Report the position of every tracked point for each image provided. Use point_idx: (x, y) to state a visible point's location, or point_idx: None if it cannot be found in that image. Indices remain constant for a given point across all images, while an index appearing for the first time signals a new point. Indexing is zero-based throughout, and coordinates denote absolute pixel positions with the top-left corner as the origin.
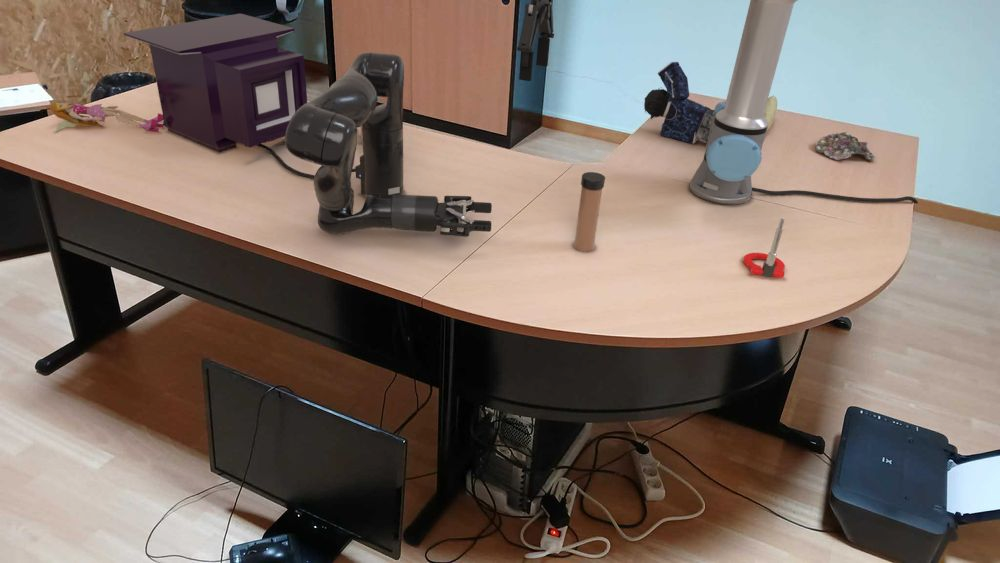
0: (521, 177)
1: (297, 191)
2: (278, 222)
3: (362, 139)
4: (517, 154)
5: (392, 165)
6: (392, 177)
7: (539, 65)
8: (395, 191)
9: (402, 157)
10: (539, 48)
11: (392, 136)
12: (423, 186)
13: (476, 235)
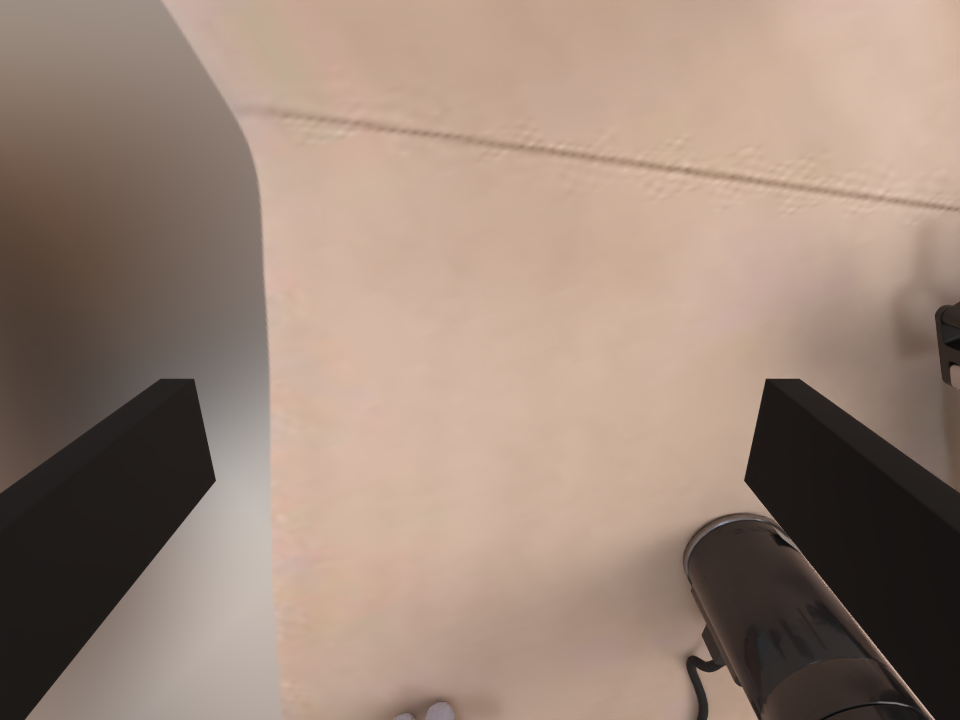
0: (459, 260)
1: None
2: None
3: (454, 717)
4: (272, 335)
5: (838, 603)
6: (813, 573)
7: (208, 450)
8: (784, 536)
9: (797, 603)
10: (98, 594)
11: (909, 693)
12: (651, 494)
13: (934, 252)
